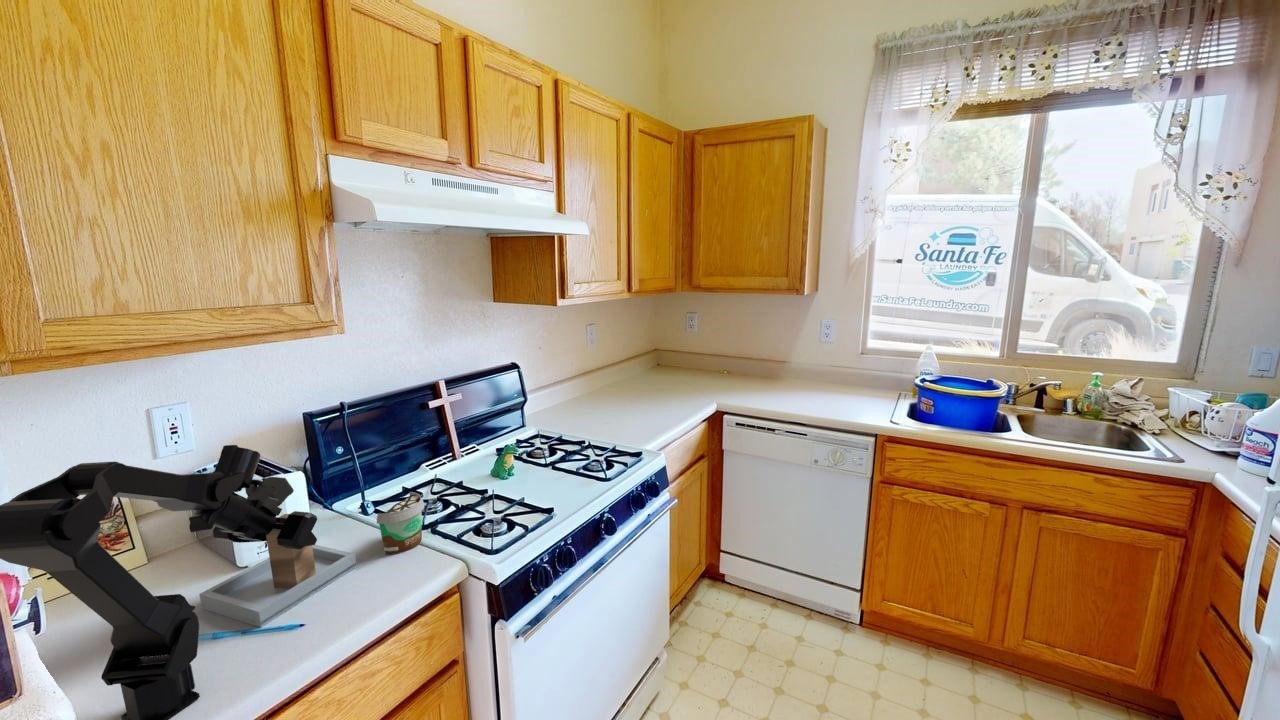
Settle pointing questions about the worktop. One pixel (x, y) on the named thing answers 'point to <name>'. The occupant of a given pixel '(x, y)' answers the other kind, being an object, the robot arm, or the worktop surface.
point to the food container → (402, 525)
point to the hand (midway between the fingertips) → (295, 539)
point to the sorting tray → (257, 596)
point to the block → (289, 562)
